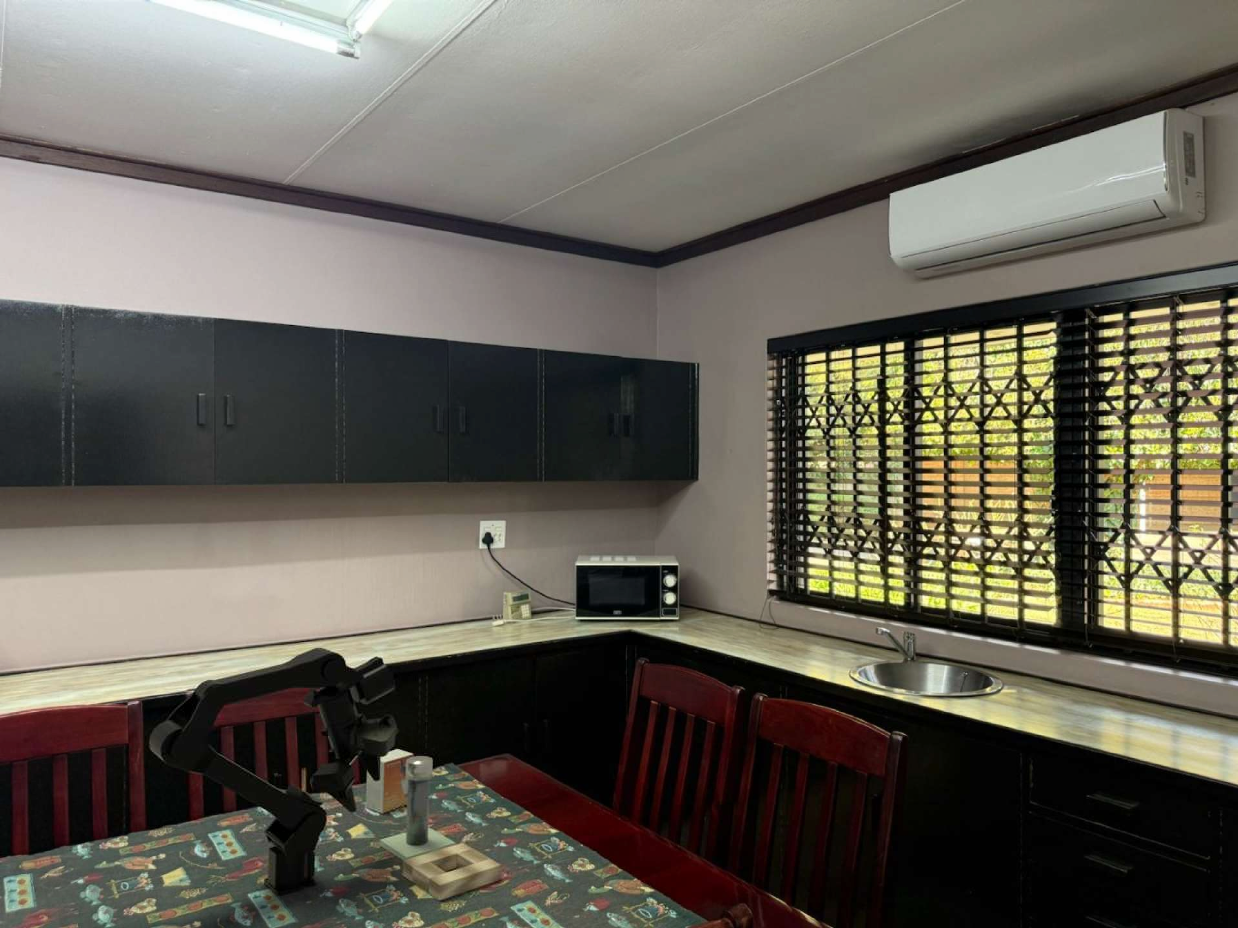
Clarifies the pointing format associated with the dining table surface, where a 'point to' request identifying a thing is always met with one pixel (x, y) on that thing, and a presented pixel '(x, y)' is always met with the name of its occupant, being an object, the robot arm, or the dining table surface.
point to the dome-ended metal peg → (418, 799)
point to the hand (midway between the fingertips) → (365, 795)
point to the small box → (389, 783)
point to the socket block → (442, 885)
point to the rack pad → (406, 851)
